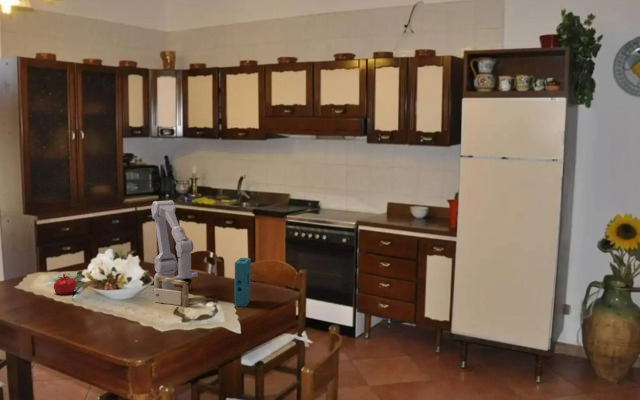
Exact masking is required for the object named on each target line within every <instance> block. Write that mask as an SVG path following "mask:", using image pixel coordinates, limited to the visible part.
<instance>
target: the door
mask: <svg viewBox="0 0 640 400" xmlns="http://www.w3.org/2000/svg"><path fill="white" fill-rule="evenodd" d="M153 290H154V293H153V294H154V295H153V297H154V300H153V301H154V303H161V304H167V305H168V304H169V305H174V306H175V305H176V306H183V292H182V291H174V290H165V289H157V288H155V289H153Z"/></svg>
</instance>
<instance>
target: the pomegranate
mask: <svg viewBox="0 0 640 400" xmlns="http://www.w3.org/2000/svg"><path fill="white" fill-rule="evenodd" d="M77 285H78V283H77V281H76V280H75V279H74V278H73V277H72V276H70V275H69V276H67V277H66V274H65V273H63V274H62V277H61V276H59V277H57V280H56V281H55V282H54V284H53V290H54V292H55V294H56V295H71V294H73V293H75V291H76V290H77ZM74 290H75V291H74Z"/></svg>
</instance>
